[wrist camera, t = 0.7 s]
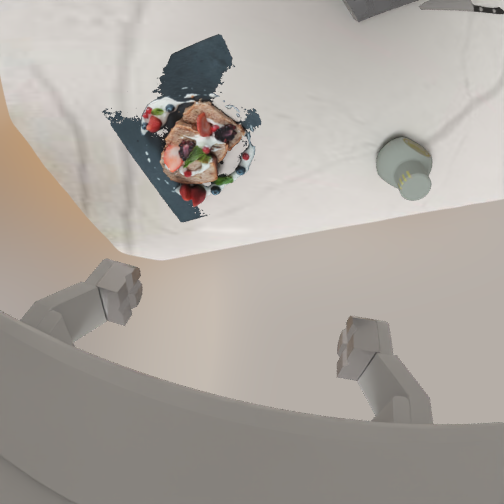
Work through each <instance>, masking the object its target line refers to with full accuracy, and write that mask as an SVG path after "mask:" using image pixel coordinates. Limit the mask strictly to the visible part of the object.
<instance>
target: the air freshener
mask: <svg viewBox="0 0 504 504" xmlns="http://www.w3.org/2000/svg"><path fill="white" fill-rule="evenodd" d="M376 168H377V172H378V175H379V176H380V177H381V178H382V179H383V180H384V181H386V182H387V183H388V184H390V185H392V186H394V187H396V188H398V189H399V191H400V193H401V195H402V197H403V198H405V199H407V200H411V201H414V200H419V199H422V198H423V197H425V196H426V195H427V194H428V193H429V191H430V189H431V188H430V187H431V180H430V178H429V174H430V172H431V168H432V157H431V155H430V154H429V153H428V152H427V151H426V150H425V149H424V148H423V147H421V146H420V145H419V144H417V143H415V142H414V141H412V140H410V139H408V138H405V137H400V138H396V139H394V140H392V141H390V142H388V143H387V144H386V145H385V146H384V147H383V148H382V149H381V151H380V152H379V155H378V157H377V162H376Z"/></svg>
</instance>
